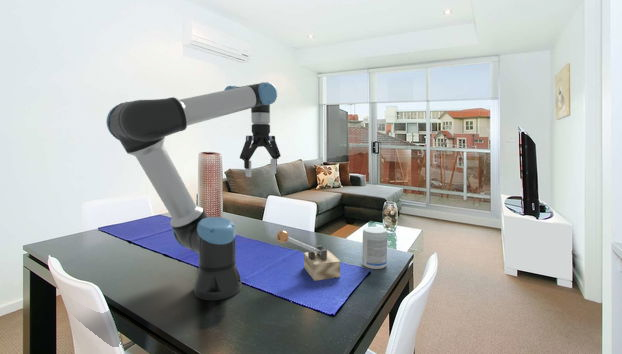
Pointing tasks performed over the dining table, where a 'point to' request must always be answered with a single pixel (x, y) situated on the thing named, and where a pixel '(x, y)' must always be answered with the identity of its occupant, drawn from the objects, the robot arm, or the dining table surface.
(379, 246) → the supplement tub
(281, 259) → the dining table surface
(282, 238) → the press lever
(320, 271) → the block with knobs
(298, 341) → the dining table surface
